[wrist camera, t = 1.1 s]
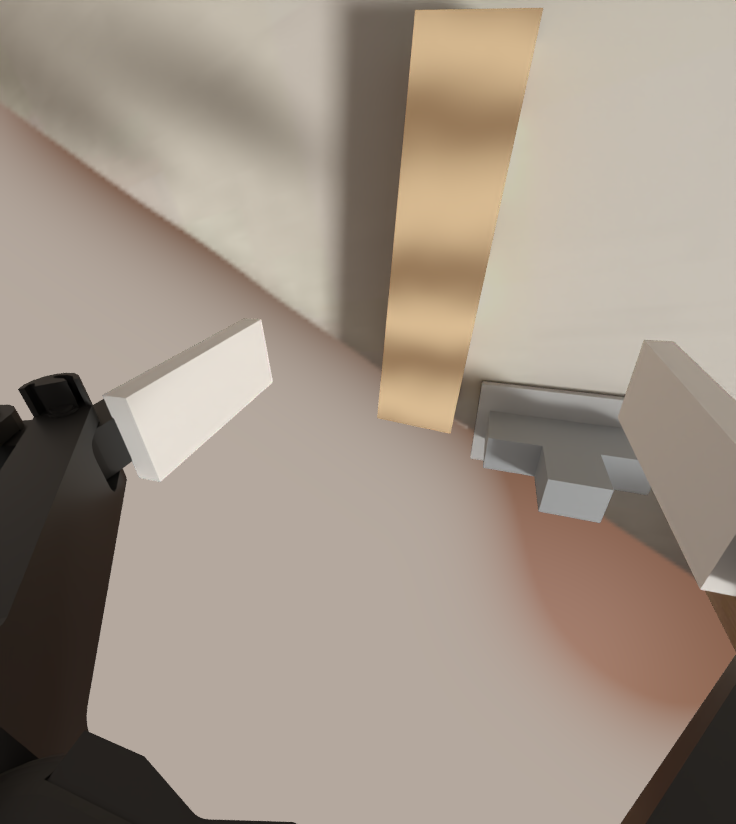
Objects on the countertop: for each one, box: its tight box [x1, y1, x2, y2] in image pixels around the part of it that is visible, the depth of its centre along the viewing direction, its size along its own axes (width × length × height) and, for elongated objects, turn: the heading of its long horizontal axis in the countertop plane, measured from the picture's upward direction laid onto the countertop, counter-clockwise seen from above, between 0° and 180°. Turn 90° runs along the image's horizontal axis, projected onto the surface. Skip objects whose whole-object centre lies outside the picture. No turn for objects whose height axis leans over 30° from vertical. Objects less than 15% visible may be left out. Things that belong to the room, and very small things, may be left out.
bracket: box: [470, 381, 651, 523], centre depth 30 cm, size 8×14×9 cm, turn 91°
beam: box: [377, 8, 543, 434], centre depth 27 cm, size 24×6×6 cm, turn 176°
